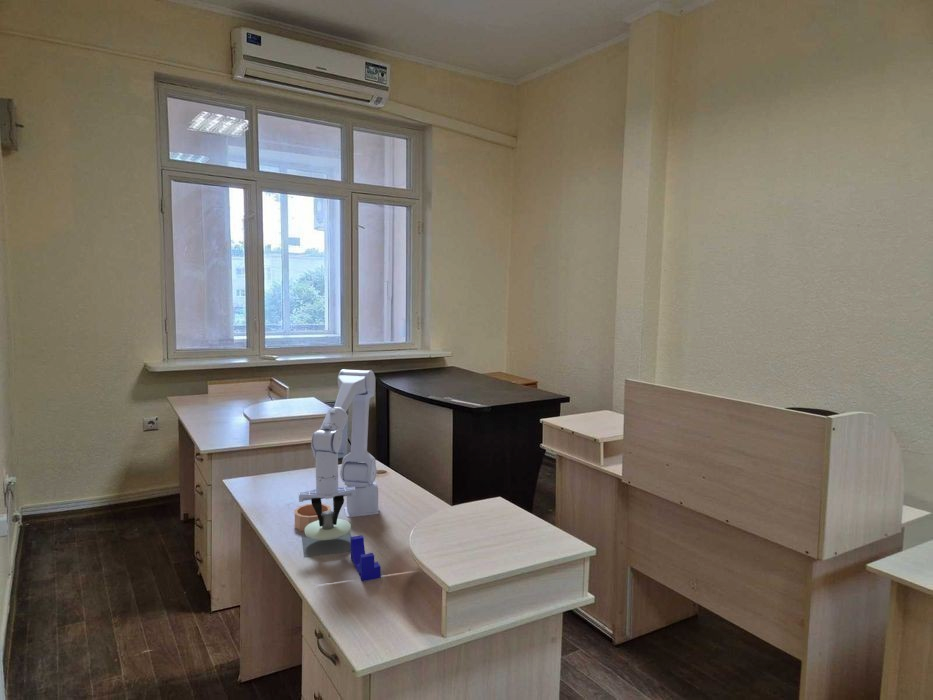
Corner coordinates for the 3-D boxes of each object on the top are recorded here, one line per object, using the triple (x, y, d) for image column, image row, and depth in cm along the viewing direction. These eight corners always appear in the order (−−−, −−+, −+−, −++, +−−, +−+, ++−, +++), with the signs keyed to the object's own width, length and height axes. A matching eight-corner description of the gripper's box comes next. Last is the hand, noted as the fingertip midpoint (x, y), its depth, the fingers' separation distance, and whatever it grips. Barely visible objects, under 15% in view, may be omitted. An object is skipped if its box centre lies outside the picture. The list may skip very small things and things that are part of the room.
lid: (347, 518, 162) (347, 502, 162) (353, 536, 151) (353, 518, 151) (303, 524, 159) (303, 507, 158) (306, 542, 147) (305, 524, 147)
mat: (349, 531, 163) (349, 530, 163) (355, 551, 151) (355, 550, 151) (301, 537, 159) (301, 535, 159) (304, 558, 147) (304, 557, 147)
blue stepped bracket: (380, 578, 138) (380, 554, 137) (361, 582, 136) (361, 557, 136) (368, 556, 149) (368, 534, 148) (350, 559, 147) (350, 537, 147)
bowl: (329, 516, 174) (328, 502, 173) (332, 529, 164) (332, 514, 164) (294, 520, 171) (293, 505, 170) (295, 534, 161) (295, 518, 161)
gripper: (299, 482, 147) (300, 533, 149) (356, 477, 152) (357, 526, 153) (297, 473, 154) (299, 522, 155) (353, 468, 158) (353, 516, 160)
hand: (327, 524), depth 155 cm, fingers closed on lid, 3 cm apart
